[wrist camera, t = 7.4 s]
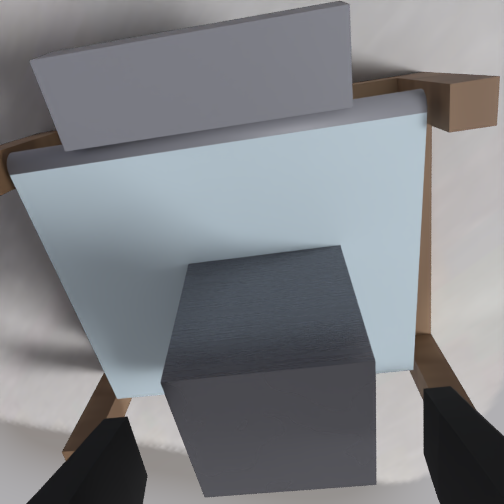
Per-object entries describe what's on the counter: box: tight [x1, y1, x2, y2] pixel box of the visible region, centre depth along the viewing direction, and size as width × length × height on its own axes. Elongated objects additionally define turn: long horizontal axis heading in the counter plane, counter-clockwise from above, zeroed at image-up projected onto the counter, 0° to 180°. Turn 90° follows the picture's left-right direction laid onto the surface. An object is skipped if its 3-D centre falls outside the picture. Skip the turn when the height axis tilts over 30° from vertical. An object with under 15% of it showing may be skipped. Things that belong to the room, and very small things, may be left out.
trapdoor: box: [7, 1, 427, 399], centre depth 15 cm, size 12×13×1 cm
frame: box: [0, 72, 500, 460], centre depth 17 cm, size 15×12×6 cm
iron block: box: [160, 245, 376, 497], centre depth 14 cm, size 5×5×5 cm
